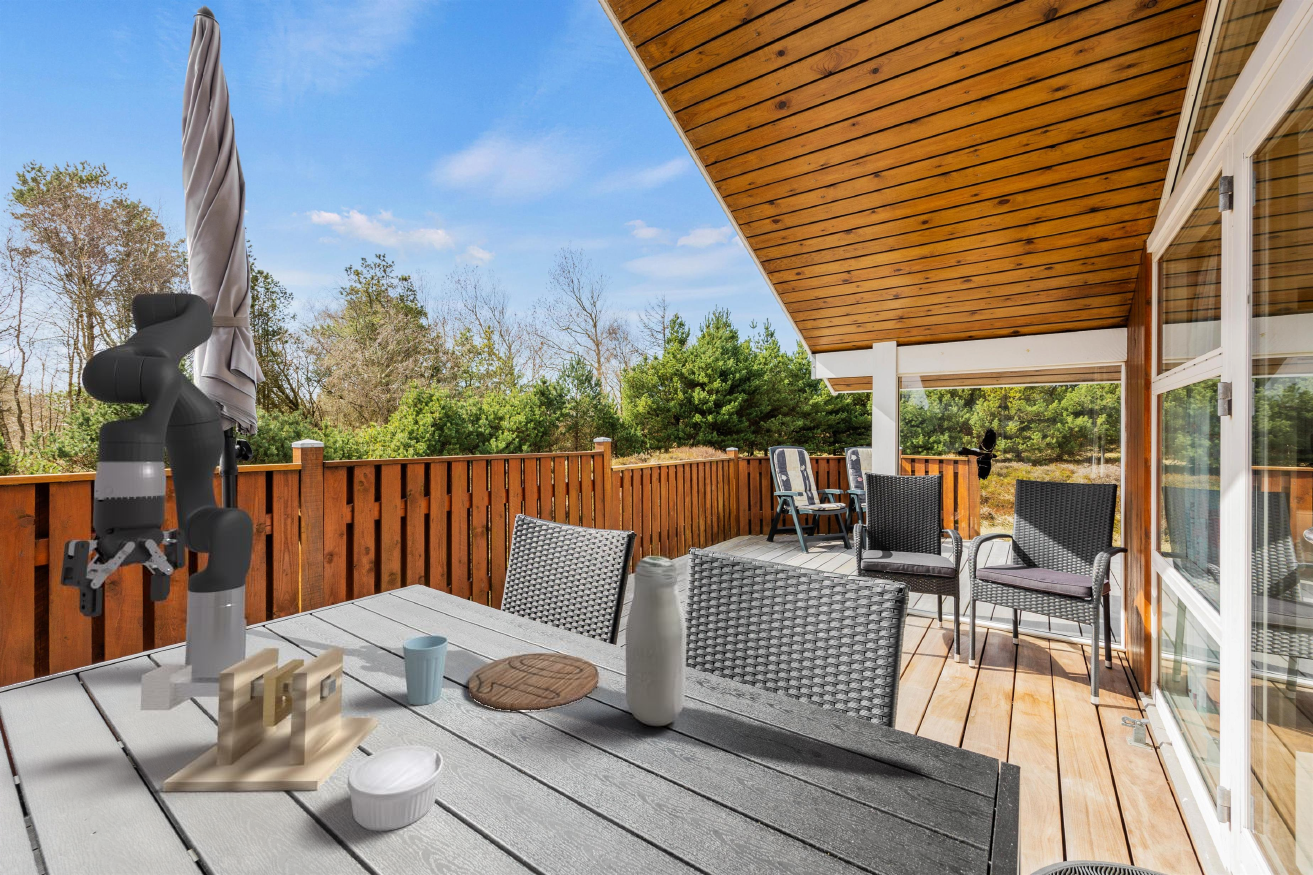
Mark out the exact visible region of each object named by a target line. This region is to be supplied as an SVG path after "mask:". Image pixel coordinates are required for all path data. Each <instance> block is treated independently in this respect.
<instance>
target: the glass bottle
mask: <svg viewBox="0 0 1313 875" xmlns="http://www.w3.org/2000/svg"><path fill="white" fill-rule="evenodd" d="M633 576H634V589H633V596H632V597H633V598H632V600H631V604H630V607H629V608H630V609H629V613H628V616H627V620H626V621H627V622H626V626H625V637H624V638H625V696H626V701H627V702H626V703H627V705H628V708H629V711H630V712H631V714H632V716H633V717H634V718H635V719H636V720H638V721H639V722H641V723H643V724H645V725H648V726H653V727H661V726H662V727H663V726H666V725H668V724H671V723H673V722H674V721H675V720H676V719H677V718H678V716H679V715H680V713H681V711H682V709H683V707H684V702H685V694H686V668H687V625H686V624H687V623H686V618H685V613H684V611H683V607H682V603H681V600H680V599H681V598H680V592H679V587H678V583H677V582H678V570H677V566H676V564H675V562H674V561H673V560H671V559H670V558H667V557H665V556H659V555H648V556H647V555H646V556H645V557H643V558H642V559H640V560H639V561H638V562H637V564H636V566H635V570H634V575H633Z"/></svg>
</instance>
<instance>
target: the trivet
mask: <svg viewBox="0 0 1313 875" xmlns="http://www.w3.org/2000/svg"><path fill="white" fill-rule="evenodd" d="M599 677H600V672H599V670H598V668H597V666H596V665H595V664H593V663H592V662H591V661H589V660H586V659H585V658H582V657H578V656H574V655H570V654H563V653H556V652H555V653H553V652H552V653H551V652H550V653H549V652H539V653H538V652H535V653H524V654H518V655H512V656H507V657H503V658H500V659H497V660H494V661H492V662H489V663H487V664H483V666H481V667H480V668H478V669H476V670H475V671H474V672H473V673H472V674H471V676H469V681H468V694H469V693H470V694H471V696H472V698H473V699H475V700H476V701H478V702H480V703H481V704H483V705H487V706H490V707H493V708H495V709H501V710H510V711H517V710H530V711H531V710H540V709H548V708H551V707H556V706H562V705H566V704H569V703H571V702H574V701H577V700H580V699H582V698H583V697H585V696H587V695H588V694H590V693H592V691H593V690H594V689H595V688H596V686H597V684H599V681H598V679H600V678H599ZM597 687H598V686H597ZM596 689H597V688H596ZM596 689H595V690H596ZM470 694H469V695H470ZM592 694H593V693H592ZM471 696H470V697H471ZM472 698H471V699H472ZM473 699H472V700H473Z"/></svg>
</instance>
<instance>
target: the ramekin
mask: <svg viewBox="0 0 1313 875" xmlns="http://www.w3.org/2000/svg"><path fill="white" fill-rule="evenodd" d="M443 771H444V758H443V756H442V754H441V753H440V752H439V751H438V750H436V749H434V748H433V747H429V746H425V745H418V744H417V745H414V744H413V745H402V746H395V747H391V748H386V749H383V750H379V751H377V752H375V753H372V754H370V755H369V756H367V757H365V758H364V759H362V760H361V761H359V762H358V763H356V764H355V765H354V766H353V767H352V768H351V770H350V771H349V774H348V777H347V788H348V792H349V793H350V801H351V807H352V813H353V814H352V816H353V818H354V820H355V821H356V822H357V823H358V824H359V825H360V826H361V827H363V828H365V829H367V830H370V831H377V832H383V831H392V830H398V829H401V828H403V827H407V826H409V825H411V824H413V823H415V822H417V821H418V820H420V819H422V818H423V817H424V816H425V815H426V814H427V813H428V812H429V811H430V810H431V809H432V807H433V805H434V803H435V802H436V799H437V795H438V791H439V786H440V782H441V776H442V773H443Z"/></svg>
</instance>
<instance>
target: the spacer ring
mask: <svg viewBox="0 0 1313 875" xmlns="http://www.w3.org/2000/svg"><path fill="white" fill-rule="evenodd" d="M304 665H305V659H296V658H295V659H291V660H290V661H289V662H286V663H285V664H284V665H281V666H280V667H278V669H277V670H275V671H274V672H272V673H271V674H269V675H267V676H266V677H264V704H263V727H274V726H276V725H277V724H278V723H280V722H281V721H282V720H283V719H285V718H288V717H289V716H290V715H291V710H292V696H283V685H284V684H285V683H287V682H288V681H290V680H291V679H292V678H293V672H295V671H296V670H298V669H299V668H301V667H302V666H304ZM283 697H285V698H283Z"/></svg>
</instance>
